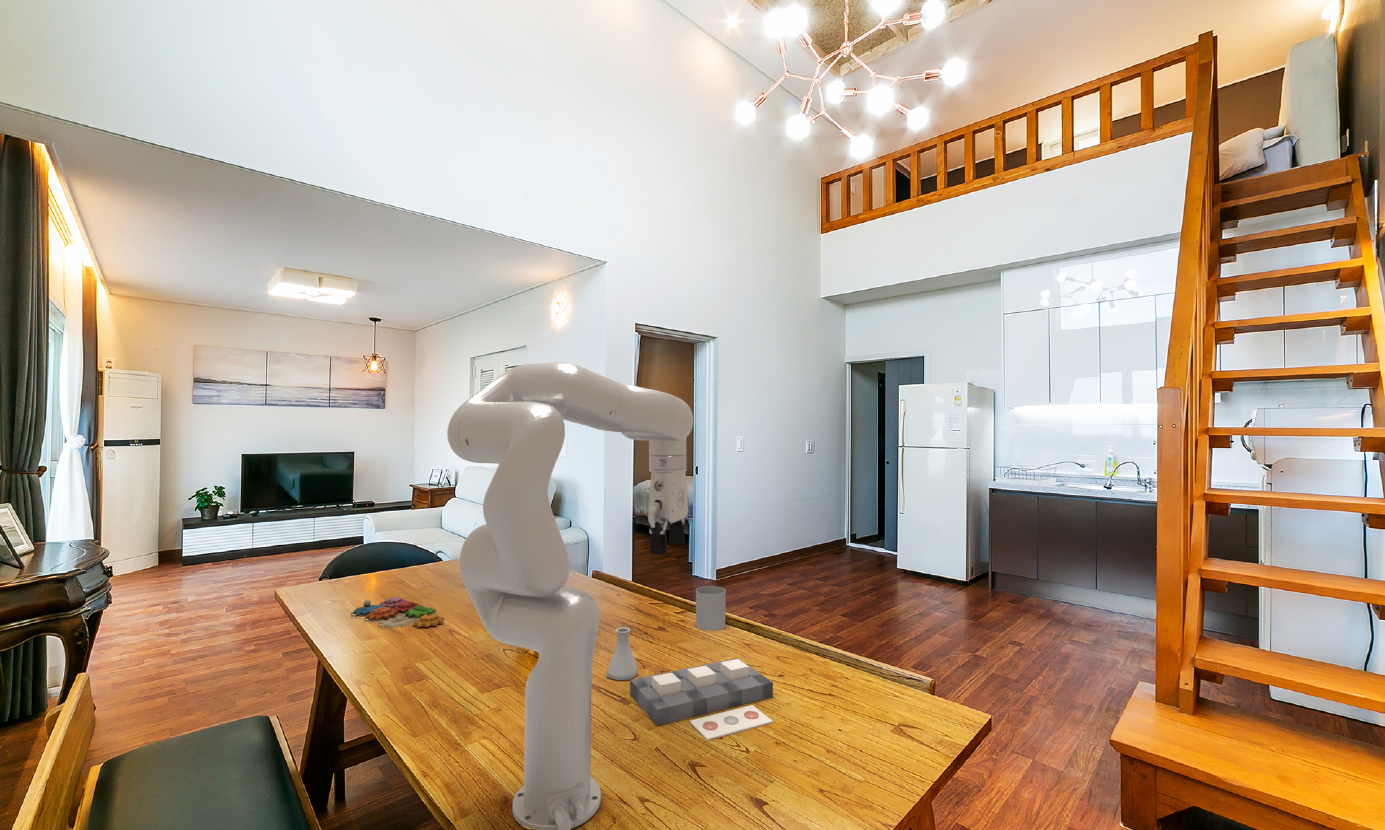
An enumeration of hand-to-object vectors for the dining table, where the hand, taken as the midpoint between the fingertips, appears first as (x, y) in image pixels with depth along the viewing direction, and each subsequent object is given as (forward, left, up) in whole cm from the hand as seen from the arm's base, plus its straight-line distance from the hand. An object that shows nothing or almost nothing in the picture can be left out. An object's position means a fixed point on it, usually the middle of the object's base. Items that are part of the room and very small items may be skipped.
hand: (667, 548), depth 116 cm
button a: (0, -16, -29) cm, 34 cm away
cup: (+36, -30, -31) cm, 56 cm away
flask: (+17, +3, -31) cm, 36 cm away
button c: (0, 0, -30) cm, 30 cm away
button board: (0, -8, -31) cm, 32 cm away
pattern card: (-12, -8, -31) cm, 34 cm away
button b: (0, -8, -29) cm, 31 cm away
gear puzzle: (+81, +47, -32) cm, 99 cm away
